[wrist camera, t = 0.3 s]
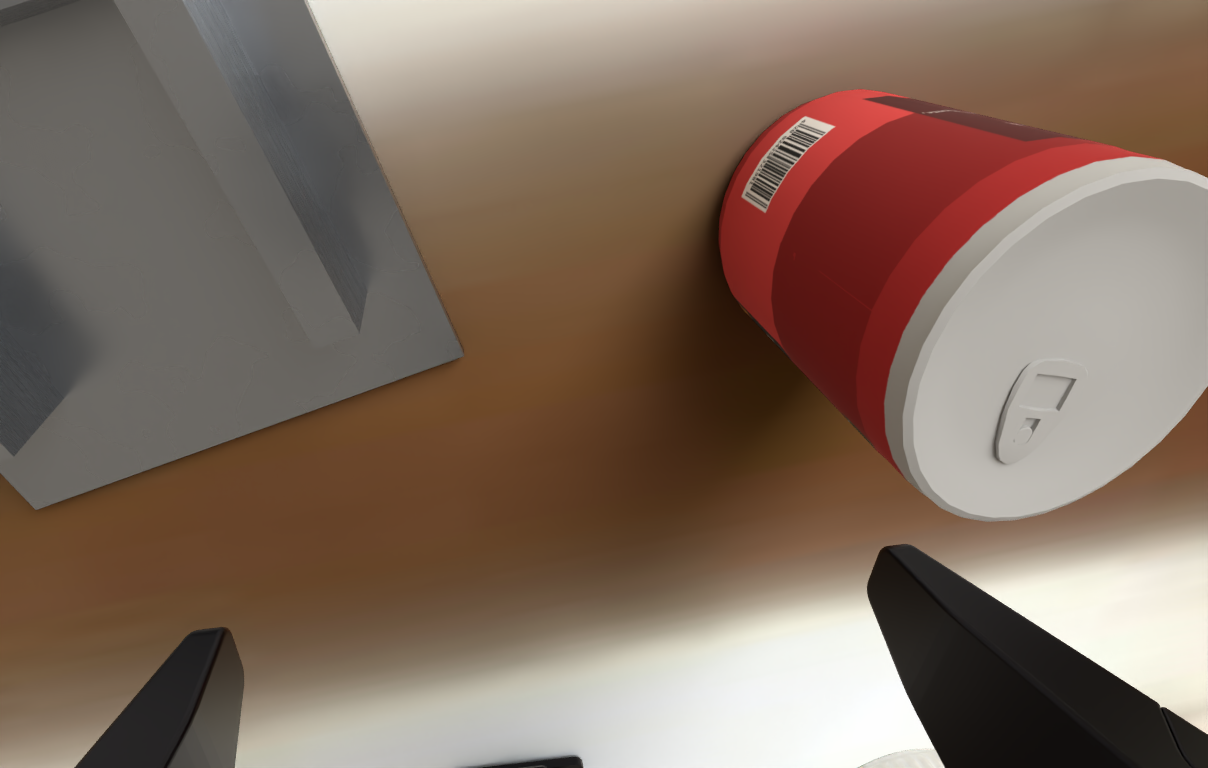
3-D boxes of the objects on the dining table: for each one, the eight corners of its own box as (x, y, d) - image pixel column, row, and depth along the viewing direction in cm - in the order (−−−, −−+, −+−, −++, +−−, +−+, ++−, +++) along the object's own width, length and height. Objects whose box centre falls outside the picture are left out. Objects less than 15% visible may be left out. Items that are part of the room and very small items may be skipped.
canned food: (705, 338, 25) (874, 553, 16) (714, 93, 21) (946, 185, 12) (905, 311, 26) (1171, 495, 17) (948, 76, 22) (1327, 145, 13)
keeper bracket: (463, 349, 23) (469, 403, 20) (43, 500, 23) (-16, 579, 20) (174, -296, 15) (111, -366, 12) (-505, -82, 14) (-749, -99, 11)
